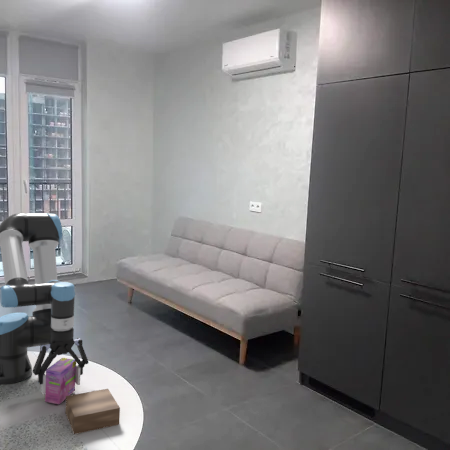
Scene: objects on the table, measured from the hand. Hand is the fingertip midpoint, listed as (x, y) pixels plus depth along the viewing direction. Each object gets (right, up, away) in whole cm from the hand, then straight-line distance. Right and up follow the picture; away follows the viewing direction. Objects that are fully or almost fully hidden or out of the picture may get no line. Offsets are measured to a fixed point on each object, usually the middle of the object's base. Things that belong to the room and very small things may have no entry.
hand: (60, 387), depth 160 cm
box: (0, -3, 0) cm, 3 cm away
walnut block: (+14, -6, -11) cm, 19 cm away
